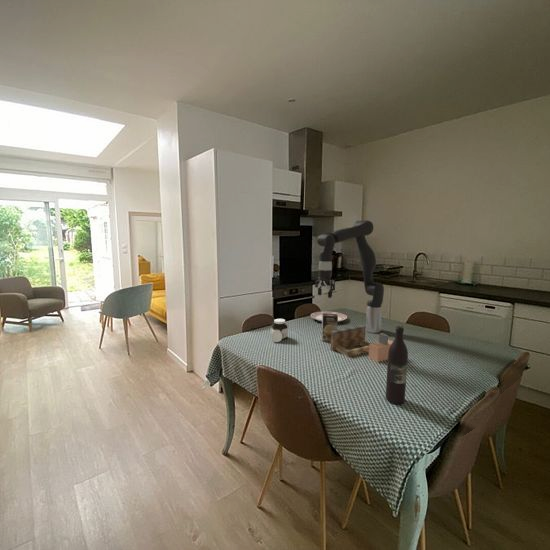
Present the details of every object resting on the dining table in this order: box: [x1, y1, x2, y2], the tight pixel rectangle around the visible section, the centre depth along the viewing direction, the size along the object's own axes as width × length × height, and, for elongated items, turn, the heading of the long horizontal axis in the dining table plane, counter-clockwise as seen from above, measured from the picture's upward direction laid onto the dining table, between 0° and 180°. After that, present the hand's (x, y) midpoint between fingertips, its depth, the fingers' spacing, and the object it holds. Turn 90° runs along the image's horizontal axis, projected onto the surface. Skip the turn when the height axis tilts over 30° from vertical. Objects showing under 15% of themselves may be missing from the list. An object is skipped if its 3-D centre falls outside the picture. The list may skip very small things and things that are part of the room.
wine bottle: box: [385, 325, 409, 405], centre depth 115 cm, size 7×7×30 cm
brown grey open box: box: [330, 324, 372, 358], centre depth 167 cm, size 24×12×11 cm, turn 118°
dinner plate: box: [310, 311, 348, 323], centre depth 226 cm, size 28×27×3 cm
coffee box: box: [320, 313, 339, 343], centre depth 181 cm, size 9×6×16 cm
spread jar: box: [270, 318, 289, 343], centre depth 182 cm, size 12×11×12 cm
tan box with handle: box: [368, 332, 394, 363], centre depth 156 cm, size 14×6×13 cm, turn 118°
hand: (324, 296), depth 173 cm, fingers open, 8 cm apart
